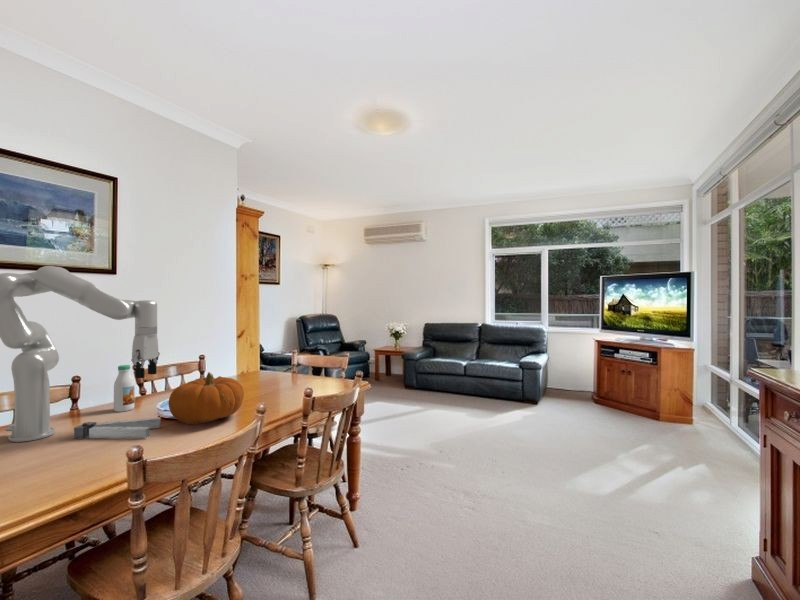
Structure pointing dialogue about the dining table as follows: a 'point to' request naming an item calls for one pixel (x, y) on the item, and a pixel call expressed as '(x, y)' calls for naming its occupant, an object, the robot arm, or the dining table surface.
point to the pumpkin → (206, 399)
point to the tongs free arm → (133, 423)
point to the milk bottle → (124, 390)
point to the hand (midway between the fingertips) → (146, 375)
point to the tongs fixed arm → (110, 431)
